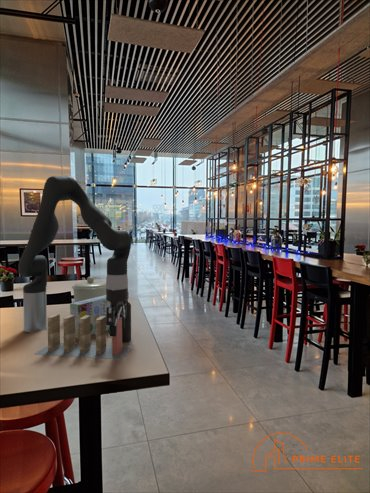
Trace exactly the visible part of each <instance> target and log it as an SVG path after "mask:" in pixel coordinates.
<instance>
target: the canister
mask: <svg viewBox="0 0 370 493" xmlns="http://www.w3.org/2000/svg"><path fill="white" fill-rule="evenodd" d="M71 289H72V292H73V297H74V298H73V299H74V303H75V302H79V301H83V300H87V299H92V298H96V297H100V296H104V295H106V281H105V282H104V281H97V280H95V278H94V276H88V277H87V278H86V281H82V282H77V283H75V284H74V285H72V286H71Z"/></svg>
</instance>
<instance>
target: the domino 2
mask: <svg viewBox="0 0 370 493" xmlns="http://www.w3.org/2000/svg"><path fill="white" fill-rule="evenodd" d="M62 321H63V324H62V326H63V343H64V352H69V351H71V350H72V349H73V348H75V344H76V338H75V315H70V314H69V315H67V316H65V317H64V318H63V320H62Z"/></svg>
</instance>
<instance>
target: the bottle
mask: <svg viewBox="0 0 370 493" xmlns="http://www.w3.org/2000/svg"><path fill="white" fill-rule="evenodd" d="M131 341H132V304H131V303H130V302H129V291H128V299H127V315H125V318H124V328H123V329H122V344H125V343H129V342H131Z"/></svg>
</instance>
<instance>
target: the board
mask: <svg viewBox="0 0 370 493" xmlns="http://www.w3.org/2000/svg"><path fill="white" fill-rule="evenodd" d="M133 348H134V346H128V345H122V350H121V351H120V352H119V353H118V355H113V354H112V344H111V345H108V344H106V350H104V351H103V352H102V353H101V354H96V344H92V343H91V348H90V349H89V350H88V351H86V352H85V353H80V343H75V348H73V349H72V350H71V351H69V352H64V342H60V347H58V348H57V349H55V350H54V351H48V345H46V346H45V347H43V348H42V349H40V350H39V351H37V352H35V353H34V355H39V356H55V357H57V356H58V357H74V358H75V357H76V358H88V359H89V358H90V359H92V358H93V359H105V360H107V359H109V360H124V358H125V357H126V356H127V355H128V354H129V352H130V351H131V350H132V349H133Z"/></svg>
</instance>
